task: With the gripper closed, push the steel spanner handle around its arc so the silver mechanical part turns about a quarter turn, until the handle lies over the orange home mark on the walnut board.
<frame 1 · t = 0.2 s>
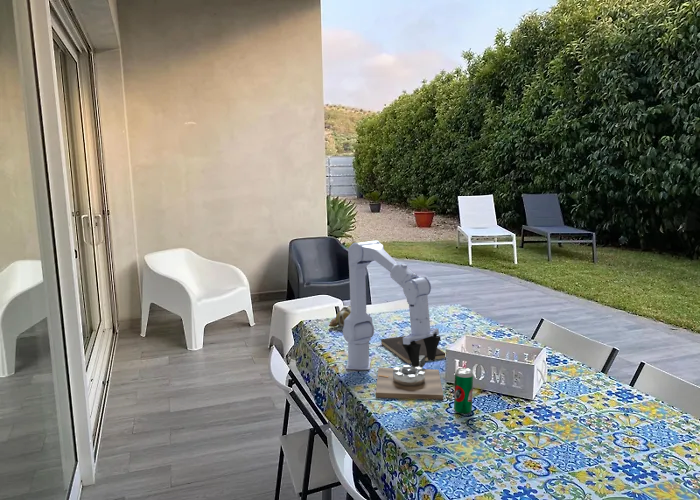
hand: (423, 363, 168), 10 cm above the table, fingers open, 7 cm apart
walnut board: (408, 385, 177), on the table
silver mechanical part: (413, 369, 181), point 3 cm above the table, hinge at 0.0°
hardcover book: (412, 352, 209), on the table
soda can: (462, 411, 160), on the table
ceramic sculpture: (344, 326, 239), on the table
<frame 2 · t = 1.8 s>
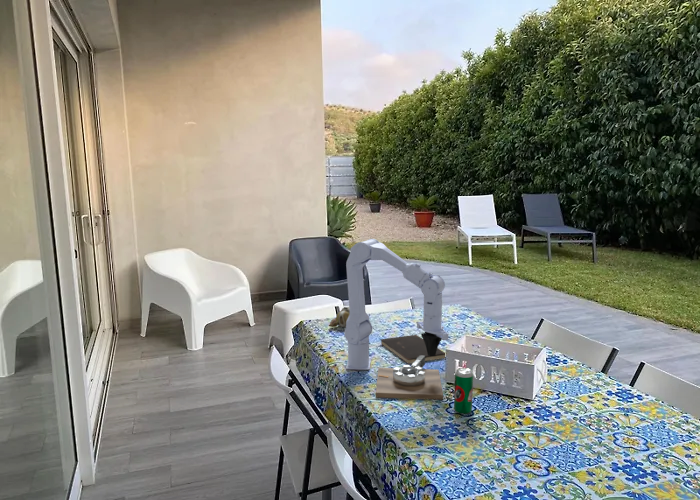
hand: (431, 355, 180), 8 cm above the table, fingers closed
nothing on the table moved.
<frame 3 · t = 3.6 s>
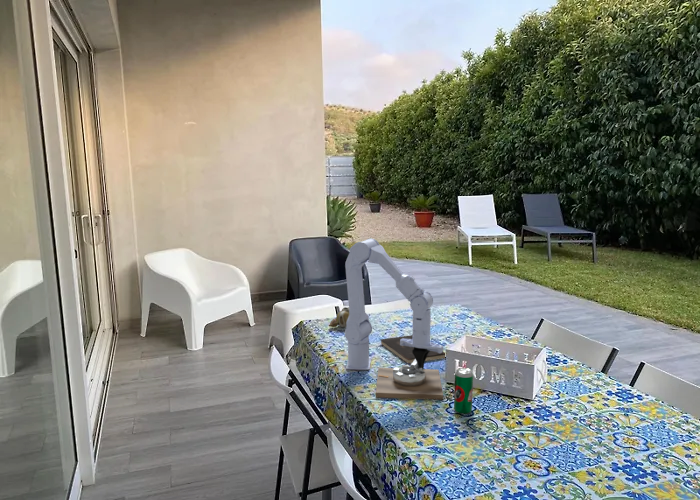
hand: (420, 369, 183), 2 cm above the table, fingers closed
silver mechanical part: (412, 369, 181), point 3 cm above the table, hinge at 3.4°, touching gripper
everything else where it was.
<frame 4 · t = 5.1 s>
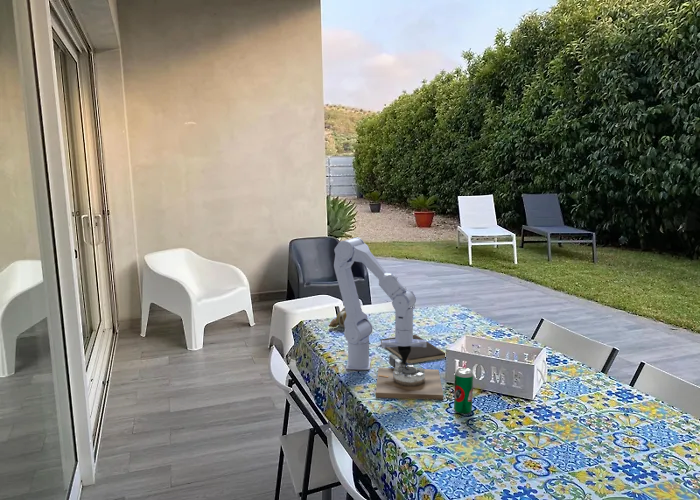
hand: (403, 367, 185), 3 cm above the table, fingers closed
silver mechanical part: (403, 369, 181), point 3 cm above the table, hinge at 43.4°, touching gripper
everything else where it was.
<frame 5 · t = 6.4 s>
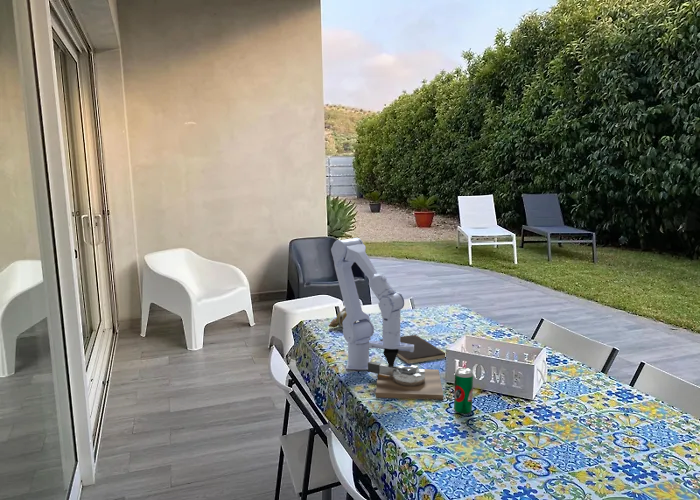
hand: (391, 370, 182), 3 cm above the table, fingers closed, pressing on silver mechanical part
silver mechanical part: (395, 372, 179), point 3 cm above the table, hinge at 86.7°, touching gripper
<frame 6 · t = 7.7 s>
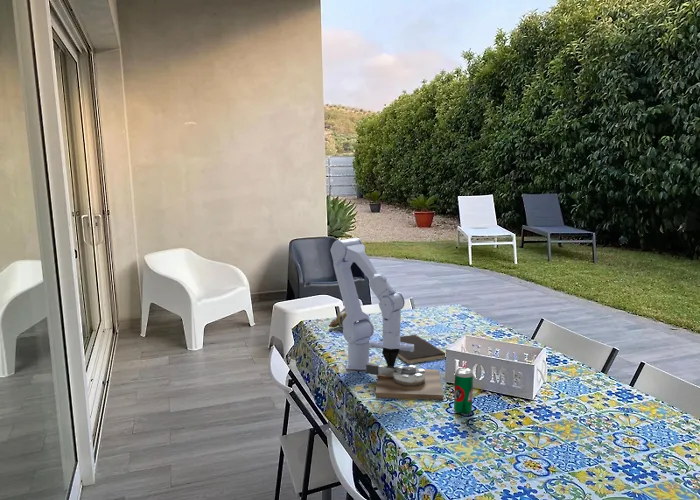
hand: (391, 370, 183), 2 cm above the table, fingers closed
silver mechanical part: (395, 372, 179), point 3 cm above the table, hinge at 93.2°
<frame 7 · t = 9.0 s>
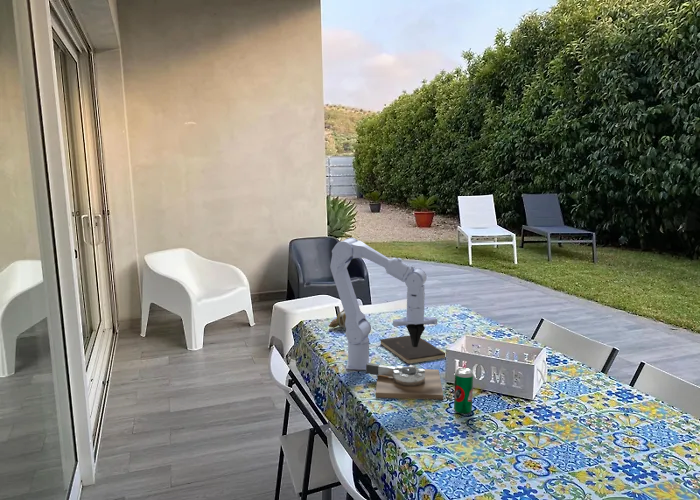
hand: (414, 346, 186), 9 cm above the table, fingers closed
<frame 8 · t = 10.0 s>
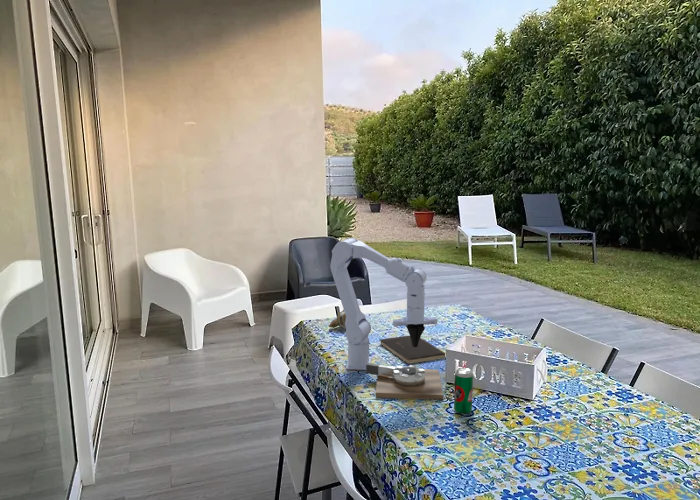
hand: (414, 346, 186), 9 cm above the table, fingers closed
at the end: silver mechanical part at +93° (first picture: +0°) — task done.
